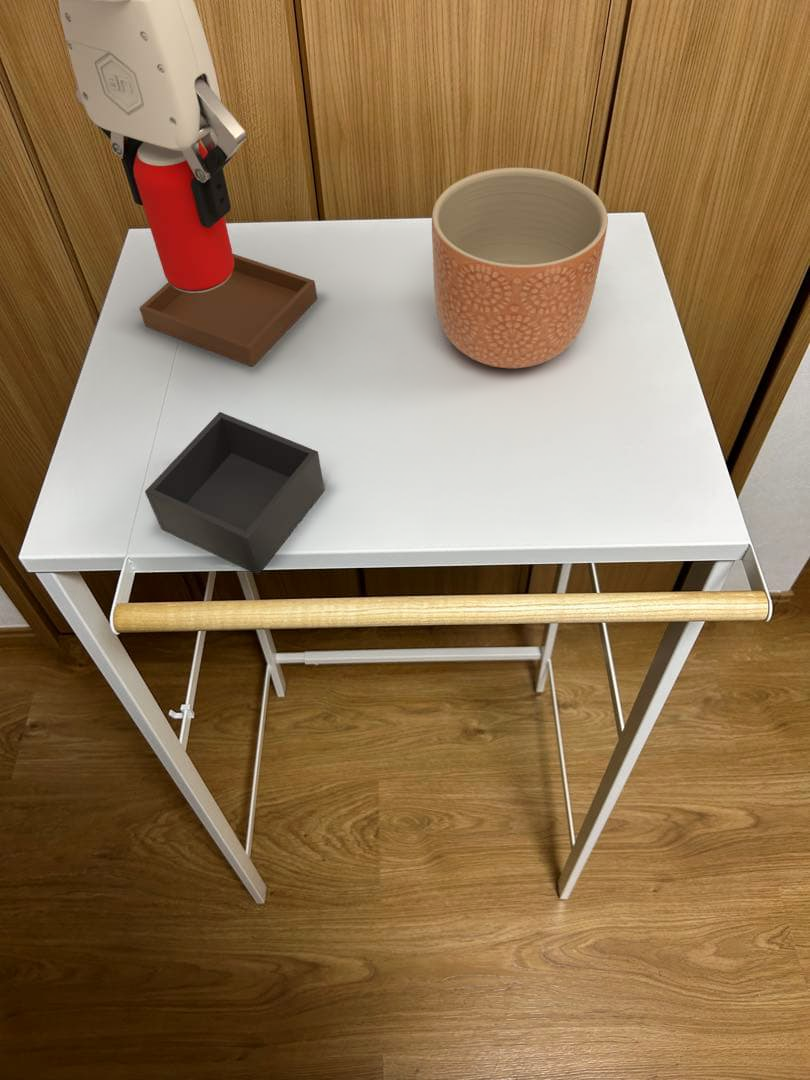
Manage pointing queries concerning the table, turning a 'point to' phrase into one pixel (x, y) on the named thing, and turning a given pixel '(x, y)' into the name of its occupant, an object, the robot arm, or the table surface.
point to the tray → (234, 310)
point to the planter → (515, 263)
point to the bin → (237, 491)
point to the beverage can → (181, 222)
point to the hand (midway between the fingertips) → (182, 205)
